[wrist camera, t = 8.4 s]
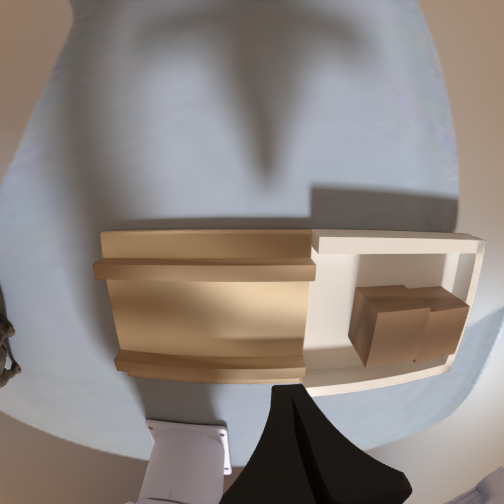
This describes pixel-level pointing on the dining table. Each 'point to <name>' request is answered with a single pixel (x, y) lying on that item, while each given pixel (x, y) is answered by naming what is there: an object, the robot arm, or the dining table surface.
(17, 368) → the rhino figurine
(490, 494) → the robot arm
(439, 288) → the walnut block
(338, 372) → the cream tray
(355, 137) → the dining table surface
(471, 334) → the dining table surface
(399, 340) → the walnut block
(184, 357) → the slot board
